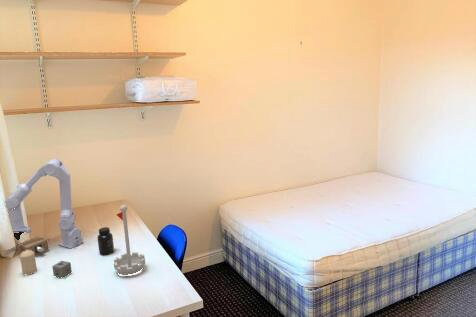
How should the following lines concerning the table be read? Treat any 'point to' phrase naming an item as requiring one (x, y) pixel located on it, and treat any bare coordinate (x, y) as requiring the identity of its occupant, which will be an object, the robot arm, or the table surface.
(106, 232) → the supplement bottle
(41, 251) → the pin
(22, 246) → the block
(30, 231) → the robot arm
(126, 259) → the flag stand
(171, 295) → the table surface
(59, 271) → the dice cube
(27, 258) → the candle
